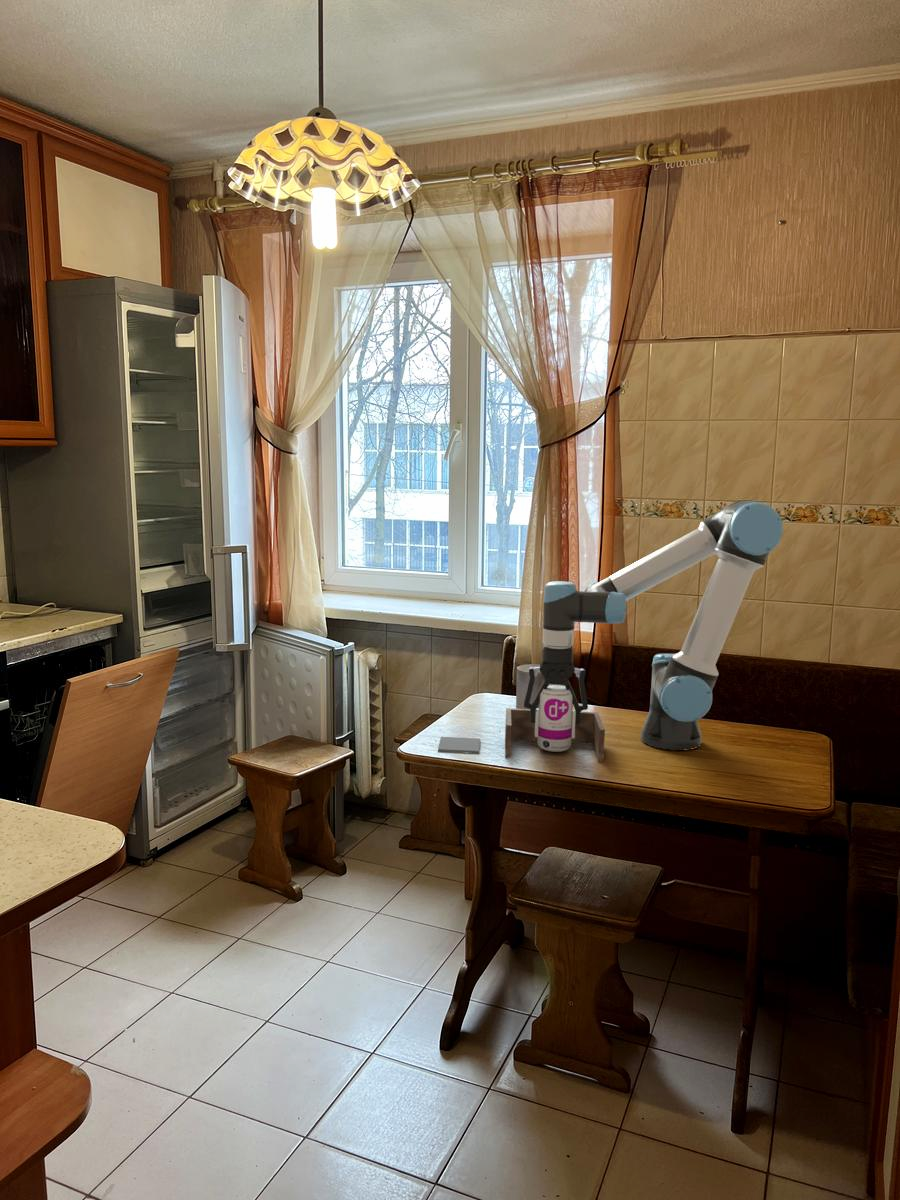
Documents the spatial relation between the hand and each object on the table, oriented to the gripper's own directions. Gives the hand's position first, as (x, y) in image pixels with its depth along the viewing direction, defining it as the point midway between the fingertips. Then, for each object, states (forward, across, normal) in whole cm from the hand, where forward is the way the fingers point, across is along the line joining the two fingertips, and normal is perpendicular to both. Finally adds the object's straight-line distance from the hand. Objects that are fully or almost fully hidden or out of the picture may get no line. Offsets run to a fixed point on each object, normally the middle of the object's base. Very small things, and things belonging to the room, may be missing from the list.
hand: (554, 736), depth 220 cm
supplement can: (+3, 0, 0) cm, 3 cm away
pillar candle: (+4, +4, -31) cm, 32 cm away
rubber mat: (+4, +23, 0) cm, 24 cm away
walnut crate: (+4, 0, -1) cm, 4 cm away
